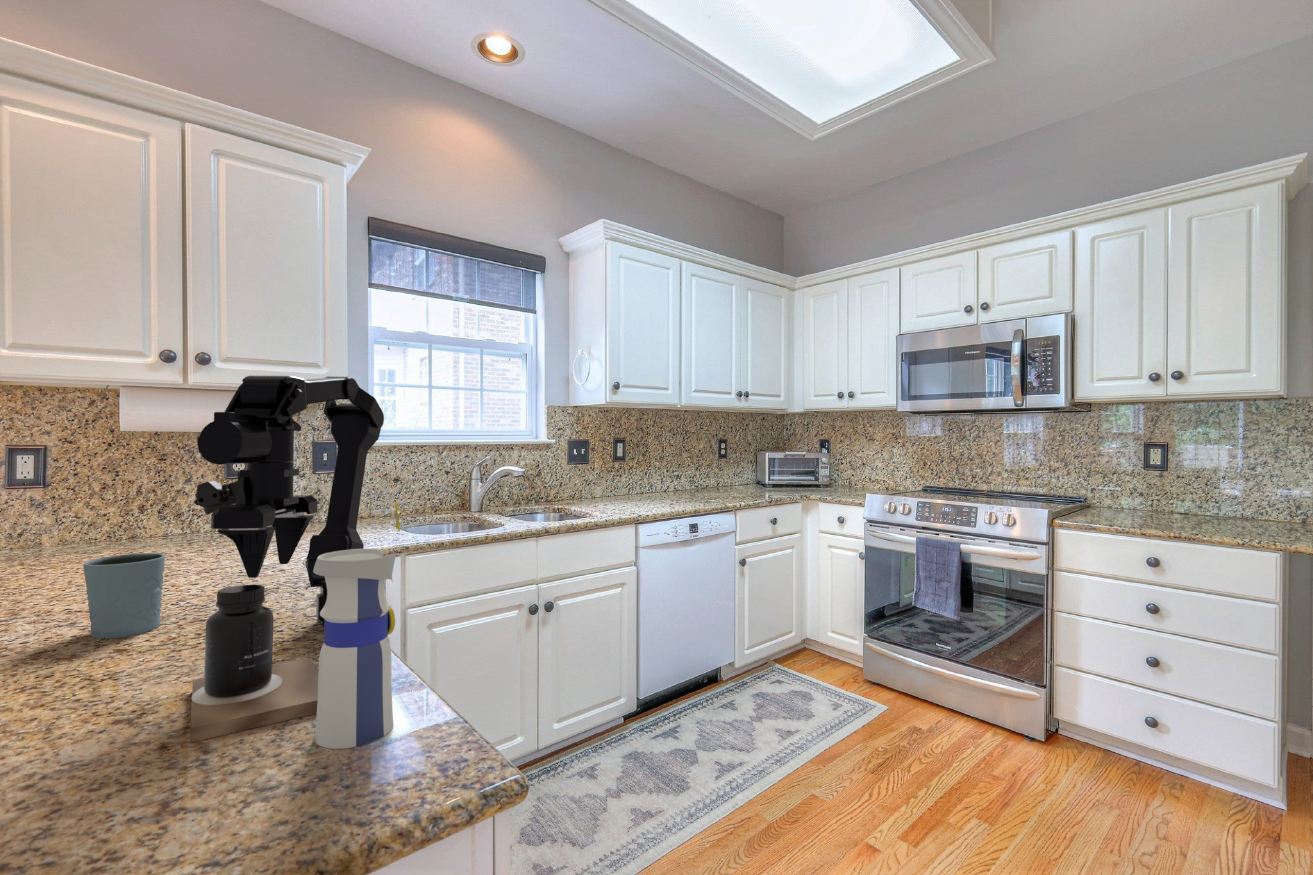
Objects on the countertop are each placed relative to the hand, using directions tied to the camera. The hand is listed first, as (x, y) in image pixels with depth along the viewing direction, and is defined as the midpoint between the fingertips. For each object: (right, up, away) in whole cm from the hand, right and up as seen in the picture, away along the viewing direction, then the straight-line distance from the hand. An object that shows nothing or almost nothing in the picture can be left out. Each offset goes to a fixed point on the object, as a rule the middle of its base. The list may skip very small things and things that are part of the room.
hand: (269, 570), depth 86 cm
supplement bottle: (+5, -11, -14) cm, 18 cm away
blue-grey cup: (-32, -13, +13) cm, 37 cm away
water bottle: (+23, -13, -20) cm, 33 cm away
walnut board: (+7, -13, -13) cm, 20 cm away
